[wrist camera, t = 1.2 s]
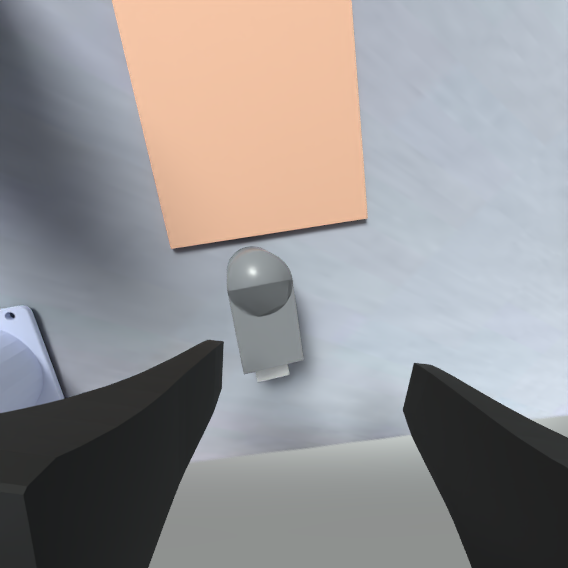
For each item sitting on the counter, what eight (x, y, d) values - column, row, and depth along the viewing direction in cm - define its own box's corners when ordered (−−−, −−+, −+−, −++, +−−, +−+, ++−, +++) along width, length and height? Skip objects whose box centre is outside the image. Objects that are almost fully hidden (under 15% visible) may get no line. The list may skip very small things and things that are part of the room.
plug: (244, 364, 21) (249, 404, 16) (222, 250, 19) (220, 258, 14) (289, 353, 22) (307, 389, 17) (272, 242, 20) (287, 246, 15)
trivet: (172, 248, 18) (170, 248, 18) (113, -2, 15) (109, -9, 15) (364, 218, 21) (367, 218, 20) (347, -4, 17) (350, -10, 17)
